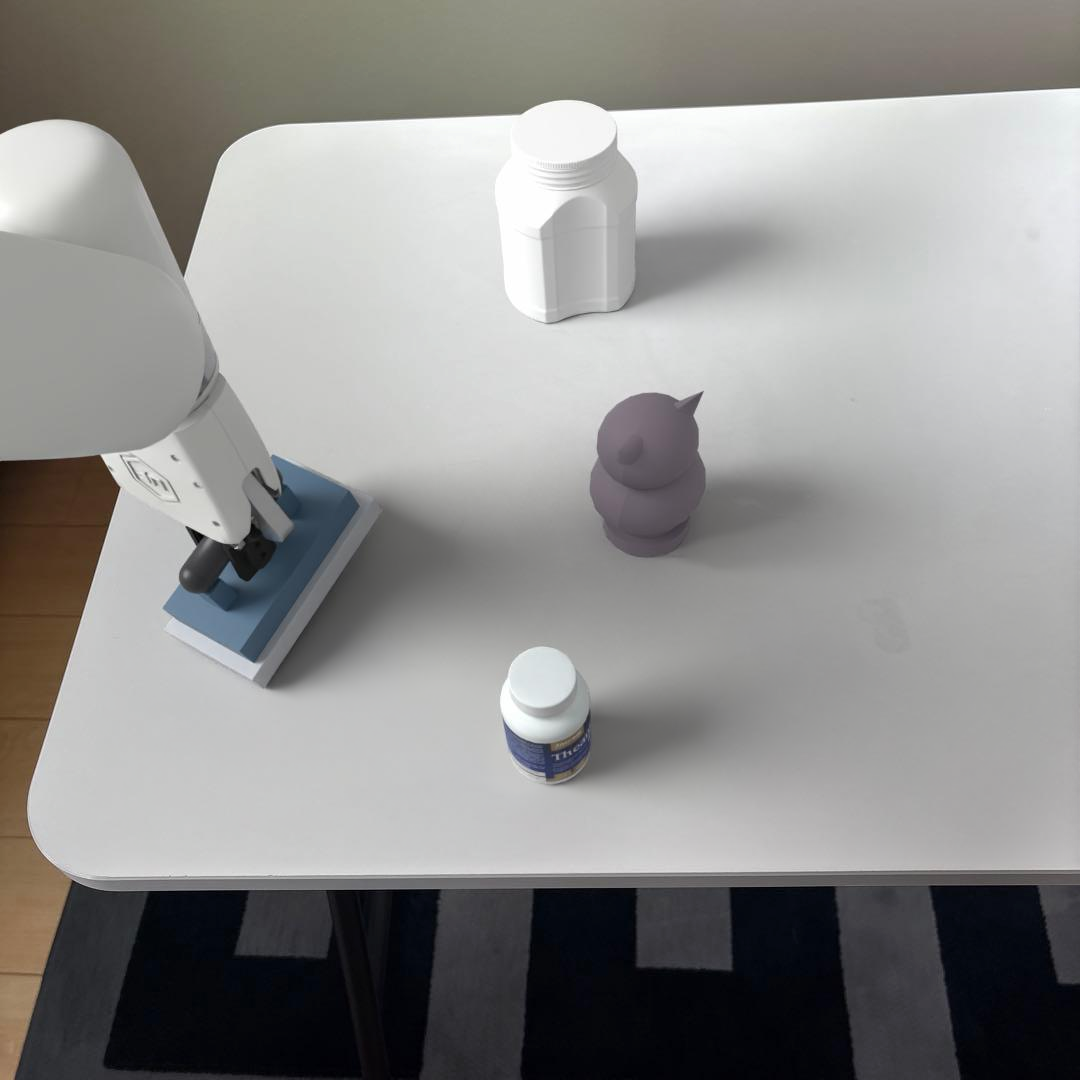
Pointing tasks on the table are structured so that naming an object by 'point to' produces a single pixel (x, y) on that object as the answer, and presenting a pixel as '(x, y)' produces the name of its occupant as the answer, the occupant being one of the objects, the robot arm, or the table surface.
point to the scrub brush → (271, 577)
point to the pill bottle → (546, 716)
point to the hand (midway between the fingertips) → (240, 553)
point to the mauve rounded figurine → (648, 472)
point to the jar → (567, 213)
